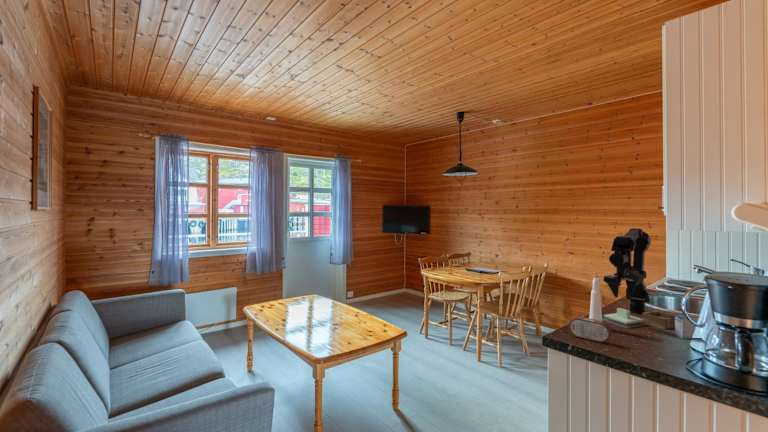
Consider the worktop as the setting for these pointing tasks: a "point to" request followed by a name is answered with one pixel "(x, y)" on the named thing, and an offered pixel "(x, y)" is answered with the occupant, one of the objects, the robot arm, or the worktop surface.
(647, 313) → the crate
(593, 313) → the cosmetic bottle
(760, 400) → the worktop surface
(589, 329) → the tin
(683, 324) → the medicine box
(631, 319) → the lid
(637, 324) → the mat
